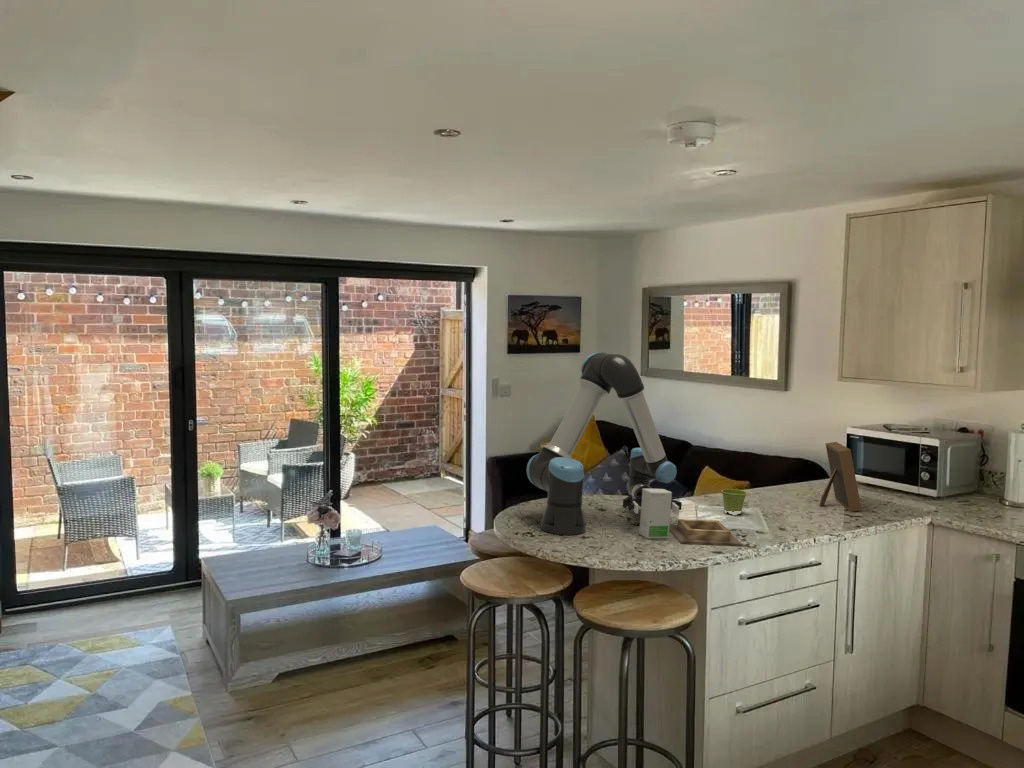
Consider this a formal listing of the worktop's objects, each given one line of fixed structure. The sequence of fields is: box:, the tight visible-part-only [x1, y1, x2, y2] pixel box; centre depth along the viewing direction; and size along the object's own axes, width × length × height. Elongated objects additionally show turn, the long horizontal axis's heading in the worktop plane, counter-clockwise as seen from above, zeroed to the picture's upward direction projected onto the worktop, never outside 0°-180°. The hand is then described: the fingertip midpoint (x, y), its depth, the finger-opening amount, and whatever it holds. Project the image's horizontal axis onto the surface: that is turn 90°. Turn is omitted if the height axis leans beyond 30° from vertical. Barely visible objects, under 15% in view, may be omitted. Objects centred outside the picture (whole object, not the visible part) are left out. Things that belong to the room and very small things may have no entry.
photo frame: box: [818, 441, 862, 513], centre depth 311 cm, size 15×22×25 cm
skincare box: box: [638, 488, 673, 540], centre depth 250 cm, size 8×7×16 cm
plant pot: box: [721, 488, 748, 512], centre depth 288 cm, size 9×9×9 cm
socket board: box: [669, 518, 743, 547], centre depth 253 cm, size 20×20×4 cm
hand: (657, 510), depth 251 cm, fingers open, 13 cm apart
